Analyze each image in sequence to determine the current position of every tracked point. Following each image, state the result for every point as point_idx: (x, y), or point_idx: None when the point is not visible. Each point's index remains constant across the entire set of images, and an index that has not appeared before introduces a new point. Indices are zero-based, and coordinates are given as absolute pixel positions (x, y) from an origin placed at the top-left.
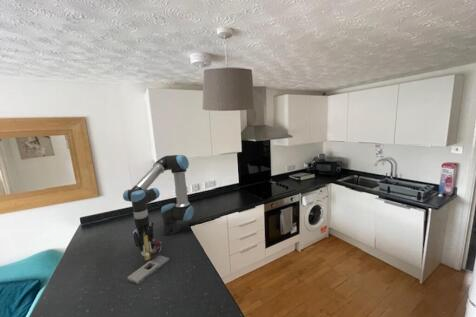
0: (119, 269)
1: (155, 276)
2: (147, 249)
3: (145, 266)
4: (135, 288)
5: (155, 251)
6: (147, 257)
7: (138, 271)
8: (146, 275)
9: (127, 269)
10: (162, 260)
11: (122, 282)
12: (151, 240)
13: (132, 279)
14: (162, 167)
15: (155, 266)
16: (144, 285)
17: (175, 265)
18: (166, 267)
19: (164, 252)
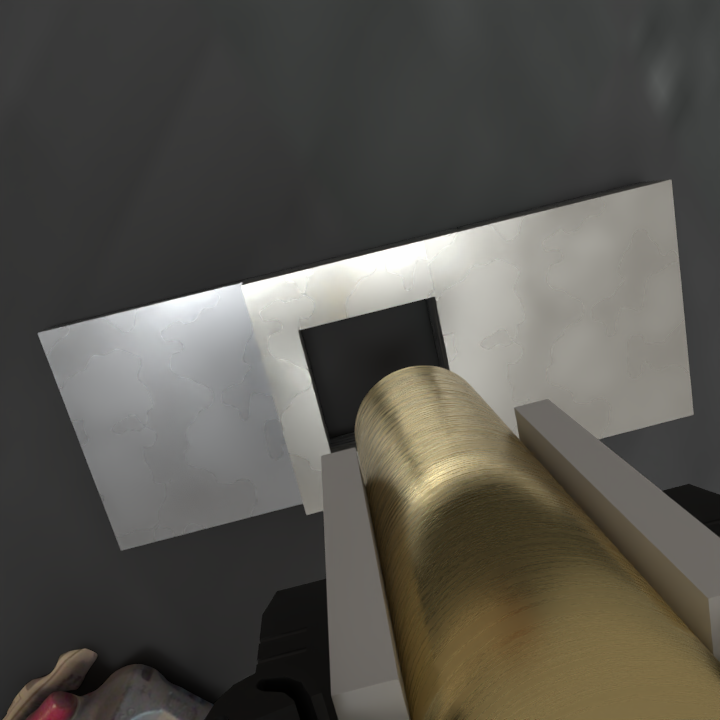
0: None
1: (407, 120)
2: (496, 464)
3: None
4: (695, 141)
5: (123, 680)
6: (459, 386)
7: None
8: (508, 218)
9: None
10: (151, 367)
11: (715, 419)
12: (274, 705)
13: (682, 297)
14: None
15: (322, 281)
16: (600, 80)
17: (47, 65)
18: (184, 166)
19: (19, 570)
